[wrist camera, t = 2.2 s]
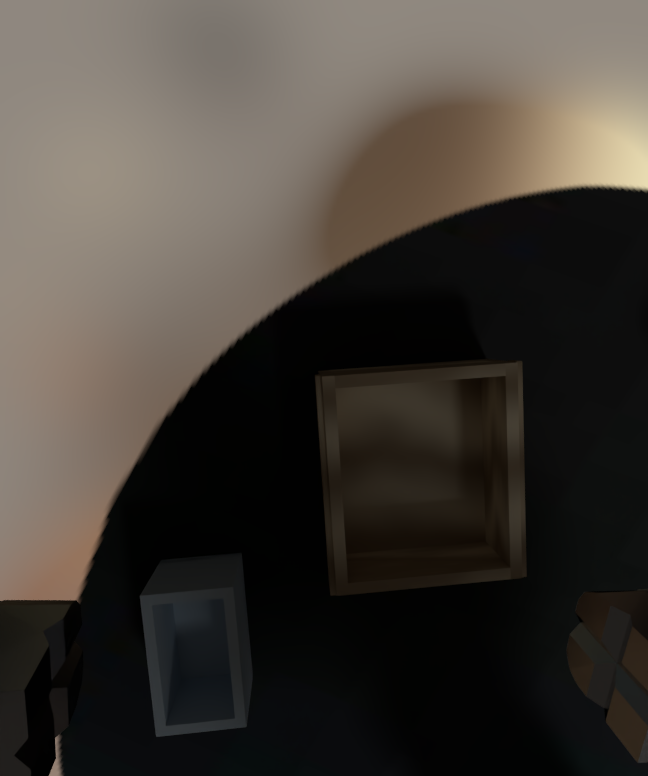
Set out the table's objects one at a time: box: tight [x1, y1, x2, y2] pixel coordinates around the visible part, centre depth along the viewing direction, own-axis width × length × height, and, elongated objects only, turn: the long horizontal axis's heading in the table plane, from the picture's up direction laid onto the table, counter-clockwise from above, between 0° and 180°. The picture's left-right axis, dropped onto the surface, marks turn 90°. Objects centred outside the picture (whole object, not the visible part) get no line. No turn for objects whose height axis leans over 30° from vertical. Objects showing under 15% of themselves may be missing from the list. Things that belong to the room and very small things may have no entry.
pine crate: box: [315, 359, 527, 596], centre depth 34 cm, size 15×13×5 cm
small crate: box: [140, 553, 253, 737], centre depth 34 cm, size 10×6×5 cm, turn 4°
